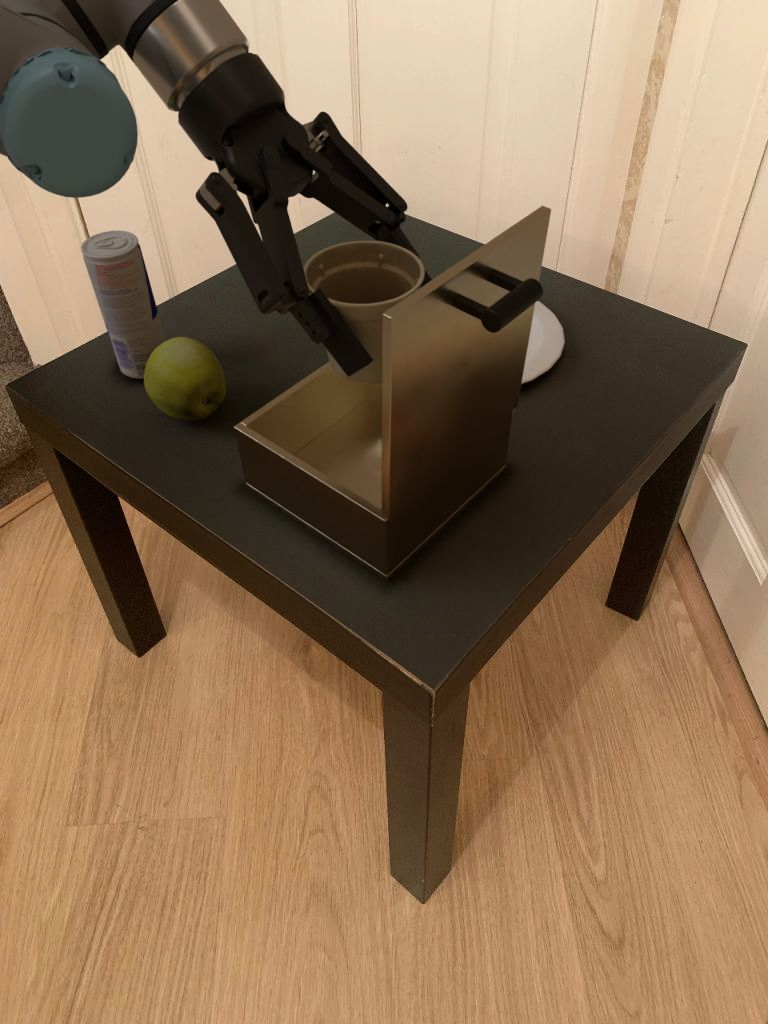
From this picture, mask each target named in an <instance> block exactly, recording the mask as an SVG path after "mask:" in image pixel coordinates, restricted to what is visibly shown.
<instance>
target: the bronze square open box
mask: <svg viewBox="0 0 768 1024" xmlns="http://www.w3.org/2000/svg"><path fill="white" fill-rule="evenodd" d="M513 413H514V409H513V410H512V411H511V412H510V413H509V414H508V415H507V416H506V417H504V418H503V419H502V420H501V421H500V422H499V423H498V424H496V425H495V426H494V427H493V428H492V429H491V430H490V431H488V432H487V433H486V434H485V435H484V436H483V437H482V438H481V439H479V440H478V441H477V442H476V443H475V444H474V445H473V446H471V447H470V448H469V449H468V450H467V451H466V452H465V453H464V454H462V455H461V456H460V457H459V458H458V459H457V460H456V461H454V462H453V463H452V464H451V465H450V466H449V467H448V468H446V469H445V470H444V471H443V472H442V473H441V474H440V475H439V476H437V477H436V478H435V479H434V480H433V481H432V482H431V483H429V484H428V485H427V486H426V487H425V488H424V489H423V490H421V491H420V492H419V493H418V494H417V495H416V496H415V497H414V498H412V499H411V500H410V501H409V502H408V503H407V504H406V505H404V506H403V507H402V508H401V509H400V510H399V511H398V512H397V513H395V514H394V515H393V516H392V517H391V518H390V519H388V518H386V517H385V516H383V515H382V514H381V509H382V381H379V382H375V383H359V382H357V381H355V380H352V379H343V378H341V377H339V376H338V375H337V374H336V373H335V372H334V371H333V370H332V368H331V366H330V363H329V361H328V362H326V363H325V364H323V365H321V366H320V367H319V368H318V369H316V370H314V371H313V372H311V373H310V374H308V375H307V376H306V377H304V378H303V379H301V380H300V381H299V382H297V383H295V384H294V385H292V386H291V387H289V388H288V389H286V390H285V391H284V392H282V393H281V394H280V395H278V396H276V397H275V398H274V399H272V400H271V401H269V402H267V403H266V404H265V405H263V406H262V407H260V408H259V409H258V410H256V411H254V412H253V413H252V414H250V415H249V416H247V417H245V418H244V419H243V420H242V421H240V422H239V423H237V424H235V425H234V426H233V430H234V434H235V439H236V444H237V449H238V453H239V458H240V463H241V468H242V474H243V477H244V482H245V486H246V489H247V490H248V491H250V492H251V493H253V494H254V495H256V496H257V497H259V498H261V499H262V500H263V501H265V502H267V503H268V504H269V505H271V506H273V507H274V508H275V509H277V510H278V511H280V512H281V513H283V514H284V515H286V516H287V517H288V518H290V519H292V520H294V522H297V523H298V524H299V525H301V526H302V527H304V528H305V529H307V530H308V531H309V532H311V533H312V534H315V535H316V536H318V537H319V538H320V539H322V540H323V541H325V542H326V543H328V545H329V544H330V545H331V546H332V547H333V548H335V549H337V550H338V551H339V552H341V553H343V554H344V555H346V556H347V557H349V558H351V559H352V560H353V561H355V562H357V563H358V564H360V565H361V566H362V567H364V568H365V569H366V570H368V571H370V572H371V573H373V574H374V575H376V576H378V577H379V578H380V579H382V580H383V581H385V582H389V581H390V580H391V579H392V578H393V577H394V576H395V575H396V574H398V572H399V571H400V570H401V569H402V568H404V567H405V566H406V565H407V564H408V563H409V562H410V561H411V560H412V559H413V558H415V556H416V555H418V553H419V552H420V551H422V550H423V549H424V548H425V547H426V546H427V545H428V544H429V543H430V542H431V541H433V540H434V539H435V538H436V537H437V536H438V534H440V532H442V531H443V530H444V529H445V528H446V527H447V526H448V525H449V524H450V523H451V522H452V521H454V519H456V518H457V517H458V516H460V515H461V513H462V512H463V511H464V510H465V509H466V508H468V506H469V505H471V503H472V502H474V501H475V500H476V499H477V498H478V497H480V495H481V494H483V492H484V491H485V490H487V489H488V488H489V487H490V486H491V485H492V483H494V482H495V481H496V480H497V479H498V478H499V477H501V475H503V474H504V473H505V472H506V469H507V468H506V467H507V460H508V452H509V446H510V445H509V444H510V435H511V430H512V429H511V428H512V421H513Z"/></svg>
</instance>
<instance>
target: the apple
mask: <svg viewBox="0 0 768 1024" xmlns="http://www.w3.org/2000/svg"><path fill="white" fill-rule="evenodd" d="M143 384H144V389H145V391H146V393H147V396H148V397H149V399H150V400H151V402H152V403H153V404H154V405H155V406H156V407H157V408H158V409H159V411H161V412H162V413H164V414H166V415H167V416H169V417H171V418H174V419H176V420H181V421H200V420H203V419H206V418H208V417H209V416H210V415H211V414H213V412H215V411H216V409H217V408H218V407H219V406H220V405H221V404H222V403H223V401H224V400H225V398H226V394H227V380H226V376H225V373H224V370H223V368H222V366H221V364H220V362H219V360H218V357H217V356H216V354H215V353H214V352H213V351H212V350H211V349H210V348H209V347H208V346H206V345H205V344H204V343H202V342H200V341H198V340H196V339H194V338H191V337H187V336H177V337H172V338H170V339H167V340H166V341H165V342H163V343H162V344H161V345H159V346H158V347H157V348H156V349H155V350H154V351H153V352H152V353H151V355H150V357H149V359H148V361H147V363H146V367H145V372H144V378H143Z"/></svg>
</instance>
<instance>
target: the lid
mask: <svg viewBox="0 0 768 1024" xmlns="http://www.w3.org/2000/svg"><path fill="white" fill-rule="evenodd" d="M551 214H552V209H551V208H550V207H548V206H545V205H541V206H540V207H538V208H536V209H535V210H533V211H532V212H531V213H529V214H528V215H526V216H524V217H523V218H522V219H520V220H519V221H517V222H516V223H514V224H513V225H511V226H510V227H508V228H507V229H505V230H504V231H502V232H501V233H499V234H498V235H497V236H495V237H493V238H492V239H490V240H489V241H488V242H486V243H485V244H483V245H481V246H480V247H478V248H477V249H475V250H474V251H473V252H472V253H470V254H468V255H467V256H465V257H463V259H461V260H460V261H458V262H456V263H455V264H454V265H451V267H449V268H448V269H446V270H444V271H443V272H442V273H440V274H439V275H437V276H436V277H434V278H432V280H431V281H430V282H428V283H427V284H425V285H424V286H422V287H421V288H419V289H418V290H416V291H415V292H414V293H412V294H411V295H409V296H408V297H406V298H405V299H403V300H402V301H400V302H399V303H397V304H396V305H394V306H393V307H391V308H390V309H388V310H387V311H385V312H384V313H383V314H382V509H381V514H382V515H383V516H385V517H386V518H388V519H390V518H391V517H392V516H393V515H394V514H395V513H397V512H398V511H399V510H400V509H401V508H402V507H403V506H404V505H406V504H407V503H408V502H409V501H410V500H411V499H412V498H414V497H415V496H416V495H417V494H418V493H419V492H420V491H421V490H423V489H424V488H425V487H426V486H427V485H428V484H429V483H431V482H432V481H433V480H434V479H435V478H436V477H437V476H439V475H440V474H441V473H442V472H443V471H444V470H445V469H446V468H448V467H449V466H450V465H451V464H452V463H453V462H454V461H456V460H457V459H458V458H459V457H460V456H461V455H462V454H464V453H465V452H466V451H467V450H468V449H469V448H470V447H471V446H473V445H474V444H475V443H476V442H477V441H478V440H479V439H481V438H482V437H483V436H484V435H485V434H486V433H487V432H488V431H490V430H491V429H492V428H493V427H494V426H495V425H496V424H498V423H499V422H500V421H501V420H502V419H503V418H504V417H506V416H507V415H508V414H509V413H510V412H511V411H512V410H513V411H514V410H515V409H516V408H517V407H518V405H519V401H520V400H519V399H520V394H521V388H522V385H521V383H522V377H523V371H524V366H525V360H526V354H527V348H528V342H529V336H530V331H531V325H532V319H533V313H534V307H535V303H536V302H537V301H539V300H541V299H542V298H543V295H544V289H543V286H542V284H541V282H540V277H541V273H542V267H543V260H544V255H545V248H546V243H547V236H548V231H549V225H550V219H551Z"/></svg>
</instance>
